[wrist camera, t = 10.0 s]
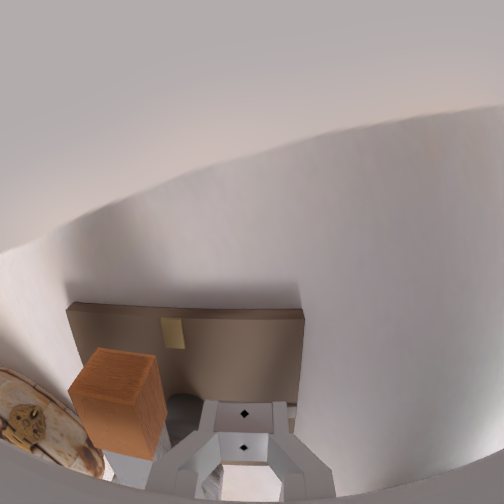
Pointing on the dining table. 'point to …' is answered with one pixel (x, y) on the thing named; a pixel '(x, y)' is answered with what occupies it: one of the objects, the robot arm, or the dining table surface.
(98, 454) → the trinket box
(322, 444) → the dining table surface
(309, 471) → the robot arm
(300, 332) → the base
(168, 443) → the lever handle
